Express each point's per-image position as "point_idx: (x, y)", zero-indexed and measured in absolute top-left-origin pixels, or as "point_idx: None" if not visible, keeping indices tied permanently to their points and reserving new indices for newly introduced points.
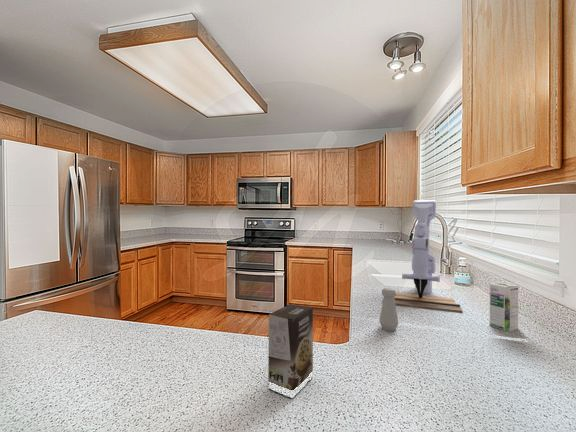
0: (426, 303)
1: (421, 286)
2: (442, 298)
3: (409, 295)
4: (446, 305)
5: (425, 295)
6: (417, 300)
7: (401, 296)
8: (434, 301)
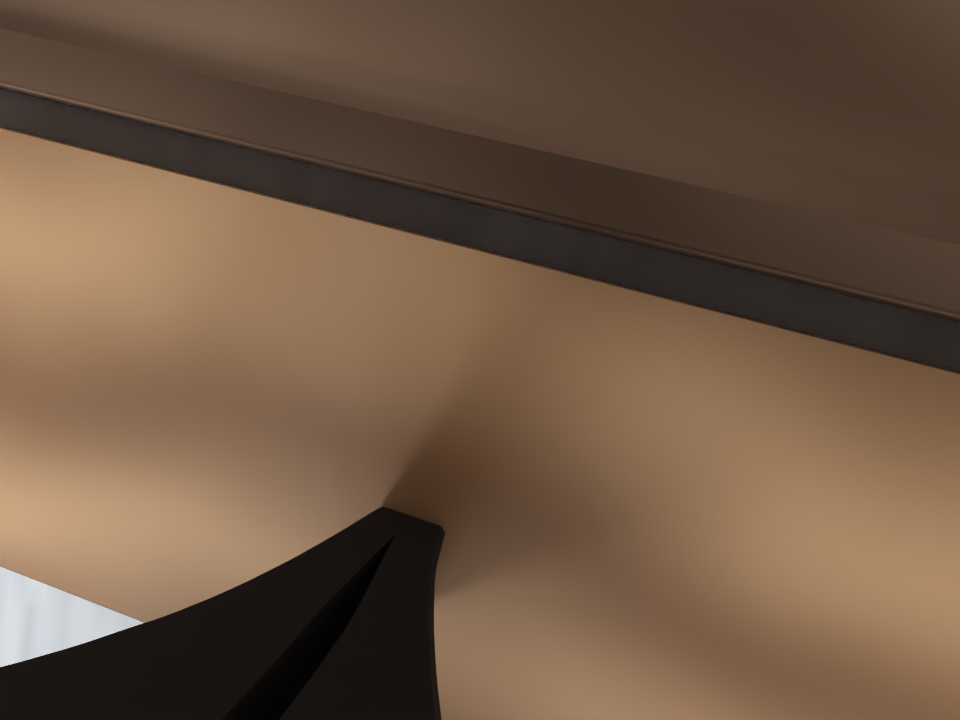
0: (392, 74)
1: (204, 711)
2: (38, 495)
3: (602, 678)
4: (21, 13)
5: None
6: (579, 164)
7: (841, 607)
8: (194, 275)
